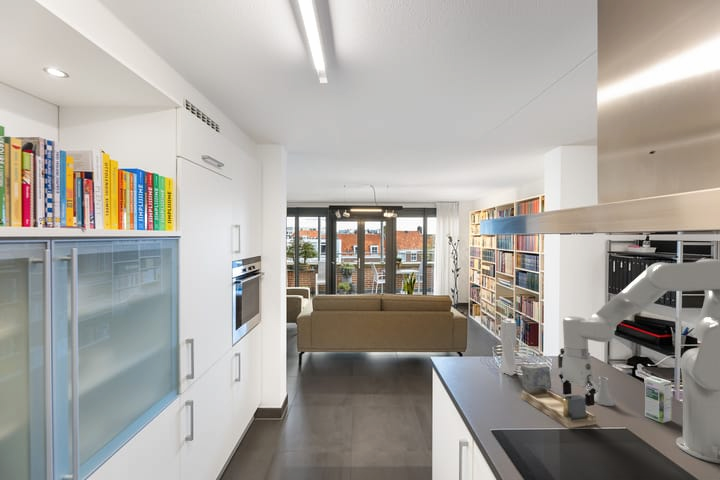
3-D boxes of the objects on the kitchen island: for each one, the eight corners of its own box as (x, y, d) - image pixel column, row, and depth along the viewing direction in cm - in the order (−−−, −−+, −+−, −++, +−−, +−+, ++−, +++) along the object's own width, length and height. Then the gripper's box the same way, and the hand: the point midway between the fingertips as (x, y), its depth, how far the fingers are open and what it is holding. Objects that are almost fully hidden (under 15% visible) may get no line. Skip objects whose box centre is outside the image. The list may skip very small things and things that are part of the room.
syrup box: (644, 416, 130) (644, 377, 130) (654, 413, 132) (654, 375, 132) (662, 423, 125) (662, 383, 125) (672, 420, 127) (672, 380, 127)
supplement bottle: (560, 370, 177) (560, 346, 177) (576, 374, 172) (576, 349, 172) (556, 373, 172) (556, 349, 172) (571, 377, 167) (571, 352, 167)
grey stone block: (537, 383, 160) (537, 361, 160) (552, 391, 152) (552, 367, 152) (519, 385, 157) (519, 362, 158) (533, 393, 149) (533, 369, 150)
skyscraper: (496, 372, 174) (496, 316, 174) (503, 368, 179) (503, 314, 179) (512, 376, 168) (512, 318, 168) (519, 372, 173) (519, 316, 173)
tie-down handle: (587, 418, 125) (587, 398, 126) (569, 420, 124) (569, 400, 124) (580, 414, 128) (580, 394, 128) (562, 416, 127) (562, 396, 127)
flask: (618, 407, 137) (618, 382, 137) (597, 405, 138) (597, 380, 139) (608, 399, 144) (608, 375, 144) (589, 397, 146) (589, 373, 146)
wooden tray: (596, 424, 124) (596, 398, 125) (568, 428, 122) (568, 402, 122) (545, 395, 148) (545, 374, 148) (521, 398, 145) (521, 376, 145)
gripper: (606, 357, 118) (608, 408, 118) (565, 344, 135) (567, 389, 135) (588, 360, 117) (590, 411, 116) (549, 346, 133) (551, 391, 133)
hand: (578, 399), depth 126 cm, fingers open, 9 cm apart
